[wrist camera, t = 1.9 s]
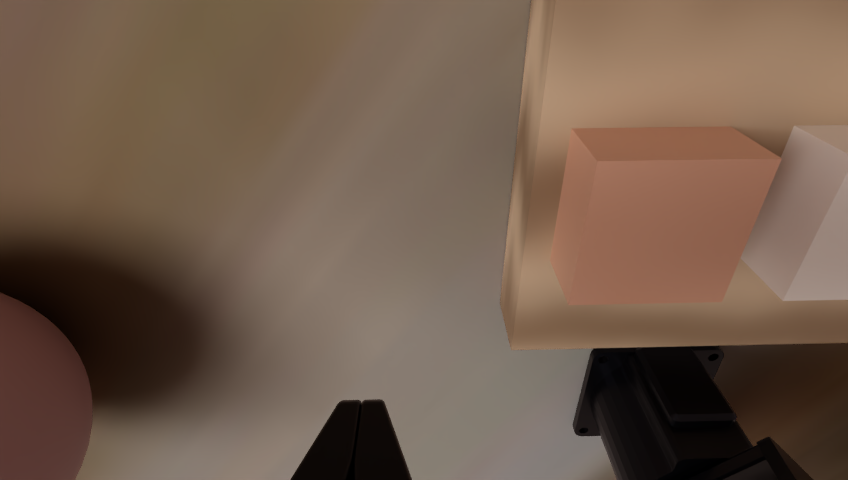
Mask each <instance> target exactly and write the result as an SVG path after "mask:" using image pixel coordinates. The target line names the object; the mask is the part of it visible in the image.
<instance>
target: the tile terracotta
mask: <svg viewBox="0 0 848 480" xmlns="http://www.w3.org/2000/svg"><path fill="white" fill-rule="evenodd" d="M781 160H782V158H780V157H779V156H777V155H775V154H774V153H772V152H771V151H769V150H768V149H766V148H764V147H763V146H761V145H760V144H758V143H756V142H755V141H753V140H752V139H750V138H749V137H747V136H745V135H744V134H742V133H741V132H739V131H737V130H736V129H734V128H733V127H731V126H723V127H645V128H572V129H571V135H570V141H569V147H568V153H567V159H566V166H565V172H564V178H563V184H562V190H561V196H560V202H559V208H558V214H557V220H556V227H555V233H554V239H553V245H552V251H551V257H550V262H551V264H552V267H553V269H554V272H555V274H556V276H557V279H558V281H559V283H560V286H561V288H562V291H563V293H564V295H565V298H566V300H567V303H568V305H605V304H655V303H705V302H722V301H723V298H724V296H725V294H726V291H727V289H728V286H729V284H730V282H731V279H732V277H733V275H734V272H735V270H736V267H737V265H738V263H739V260H740V258H741V255H742V253H743V251H744V248H745V246H746V243H747V241H748V239H749V236H750V234H751V231H752V229H753V227H754V224H755V222H756V219H757V217H758V215H759V212H760V210H761V207H762V205H763V203H764V200H765V198H766V196H767V193H768V191H769V188H770V186H771V184H772V181H773V179H774V176H775V174H776V172H777V169H778V167H779V164H780V162H781Z"/></svg>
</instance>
